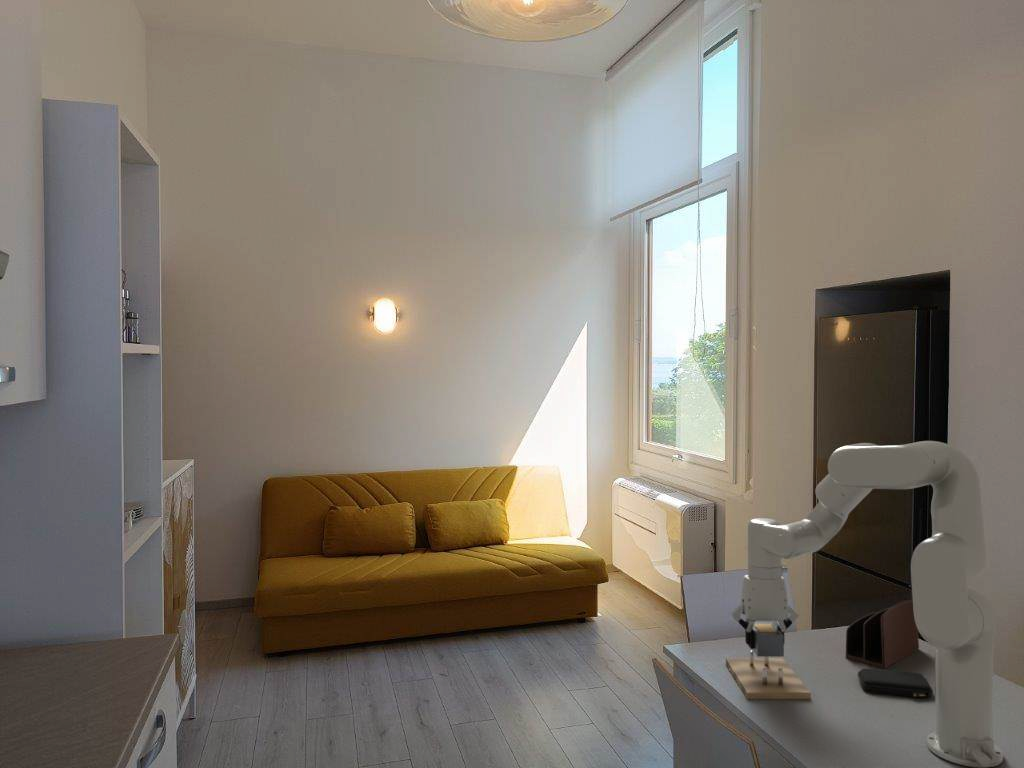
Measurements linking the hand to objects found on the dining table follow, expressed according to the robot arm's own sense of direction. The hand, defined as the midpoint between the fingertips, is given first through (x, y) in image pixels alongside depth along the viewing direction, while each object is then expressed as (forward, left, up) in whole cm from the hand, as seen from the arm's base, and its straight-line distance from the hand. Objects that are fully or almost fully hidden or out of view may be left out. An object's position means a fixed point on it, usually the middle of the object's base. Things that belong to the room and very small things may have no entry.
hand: (764, 646), depth 179 cm
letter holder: (+17, -35, -9) cm, 40 cm away
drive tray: (0, 0, -8) cm, 8 cm away
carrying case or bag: (-5, -28, -9) cm, 30 cm away
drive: (0, 0, -1) cm, 1 cm away
